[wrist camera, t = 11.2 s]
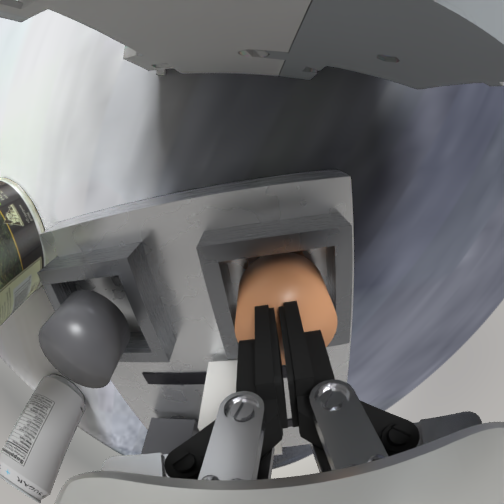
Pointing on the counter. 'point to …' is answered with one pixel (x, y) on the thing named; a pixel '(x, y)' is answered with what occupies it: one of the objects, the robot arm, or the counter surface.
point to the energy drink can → (42, 437)
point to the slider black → (168, 434)
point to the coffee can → (18, 247)
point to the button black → (85, 338)
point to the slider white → (220, 392)
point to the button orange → (284, 295)
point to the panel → (201, 276)
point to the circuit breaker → (300, 36)
